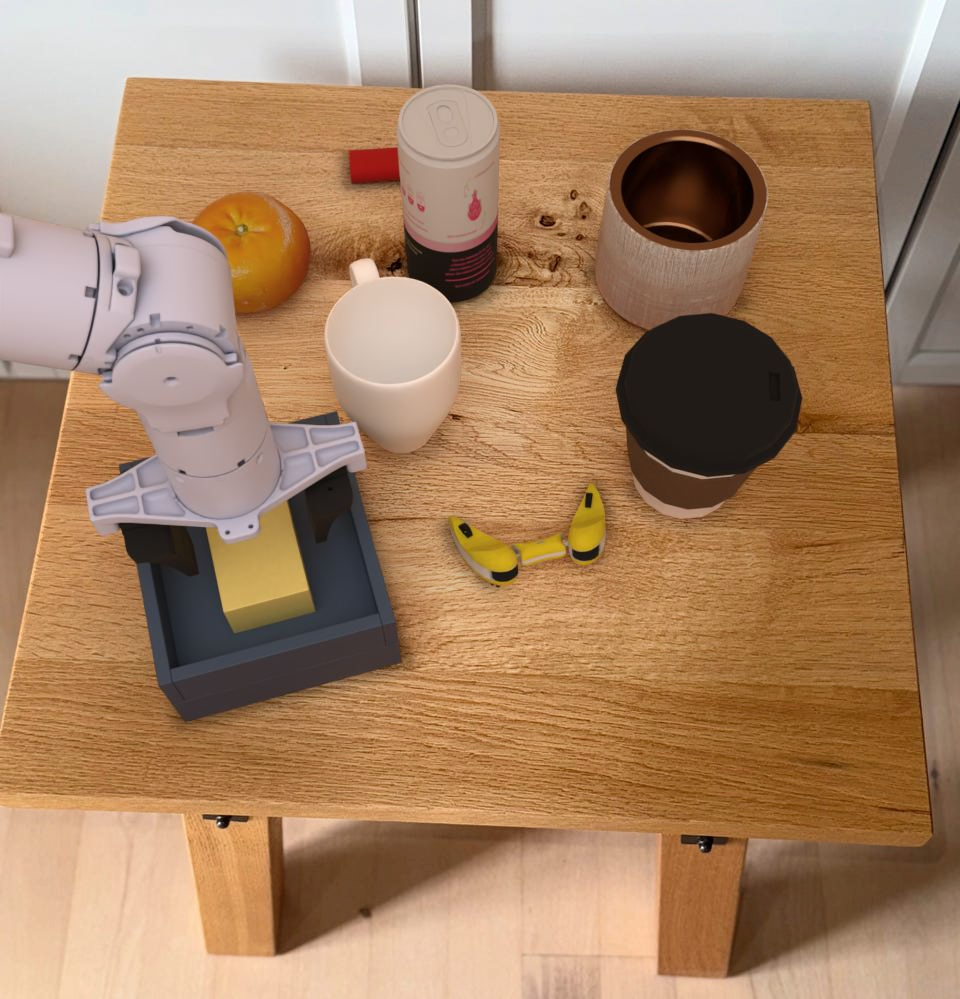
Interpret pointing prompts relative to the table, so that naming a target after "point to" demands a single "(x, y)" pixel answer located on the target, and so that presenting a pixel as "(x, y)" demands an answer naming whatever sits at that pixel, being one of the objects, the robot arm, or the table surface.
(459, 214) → the beverage can
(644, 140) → the planter
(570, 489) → the table surface
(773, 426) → the coffee cup
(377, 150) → the lighter
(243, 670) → the bin
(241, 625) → the notepads
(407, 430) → the mug
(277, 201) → the fruit
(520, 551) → the game controller
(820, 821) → the table surface
